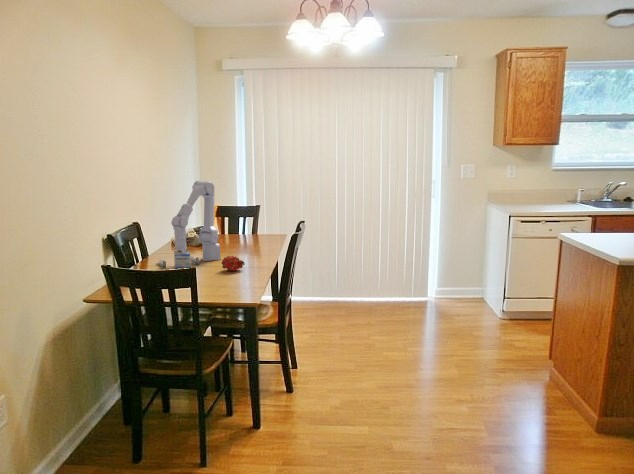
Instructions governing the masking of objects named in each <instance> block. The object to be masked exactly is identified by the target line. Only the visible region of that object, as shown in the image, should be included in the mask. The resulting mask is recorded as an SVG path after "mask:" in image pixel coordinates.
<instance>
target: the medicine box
mask: <svg viewBox="0 0 634 474" xmlns="http://www.w3.org/2000/svg"><path fill="white" fill-rule="evenodd" d="M173 253H174V254H173V255H174V257H173V258H174V270H179V269H178V268H187V269H191V260H190V256H191V251H190V250H186V253H183V254H182V251H178V250H174V251H173Z"/></svg>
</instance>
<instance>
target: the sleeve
mask: <svg viewBox="0 0 634 474" xmlns="http://www.w3.org/2000/svg"><path fill="white" fill-rule="evenodd" d="M157 260H158V264H159V265H160V266H161V267H163V268H166V269H167V261H166V260H162V259H161V258H160V259H157ZM190 262H192V263H193V264H195V266H200V258H199V257H194V256H191V255H190ZM163 268H162V269H163Z"/></svg>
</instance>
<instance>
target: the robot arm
mask: <svg viewBox="0 0 634 474" xmlns="http://www.w3.org/2000/svg"><path fill="white" fill-rule="evenodd" d="M191 189H192V191H191V193H190V195H189V197H188V199H187V201H186V203H183V204H182V205H181V207H180V209H179V210H178V213H177V214H176V215H174V217H172V220H171V225H172V227H173V228H172V229H173V231H174V247H172V249H173V250H175V251H182V254H183V253H186V251H187V249H188V247H187V232H186V231H187V230H186V229H187V226H188V224H189V217H190V215H192V212H193V211H194V209H193V206H194V204H196V202H197V200H198V199H199V198H200V197H201V196H202V198H204V201H203V226H202V227H201V228H200V230H199V235H198V239H199V242H200V244H201V245H202V257H200V259H201V260H202V261H204V262H209V261H221V260H222V259H221V245H220V243H218V241H219V235H218V230H217V228H216V227H215V226H214V224H215V222H214V221H215V184H214V183H213V182H212V181H208V180H207V181H203V180H201V181H200V180H195V181H194V182H193V185H192V187H191Z"/></svg>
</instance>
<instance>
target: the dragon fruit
mask: <svg viewBox="0 0 634 474" xmlns="http://www.w3.org/2000/svg"><path fill="white" fill-rule="evenodd" d="M221 260H222V261H221V265H222V269H226V270H227V271H228V272H232V271H233V272H239V271H241V270H240V269H243V267H244V266H245V262H244V261H243V260H241V259H239V257H238V256H234V255H227V256H225V257H224V258H223V259H221Z"/></svg>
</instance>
